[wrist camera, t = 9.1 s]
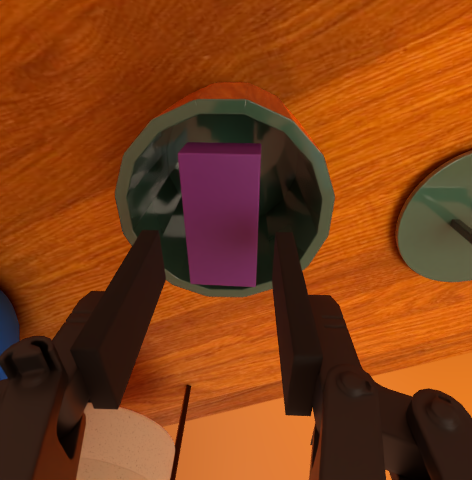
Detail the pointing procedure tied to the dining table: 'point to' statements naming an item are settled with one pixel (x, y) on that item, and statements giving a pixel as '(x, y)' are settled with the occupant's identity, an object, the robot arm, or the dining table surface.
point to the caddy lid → (439, 223)
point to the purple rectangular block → (221, 211)
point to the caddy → (271, 178)
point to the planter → (128, 445)
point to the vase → (7, 327)
